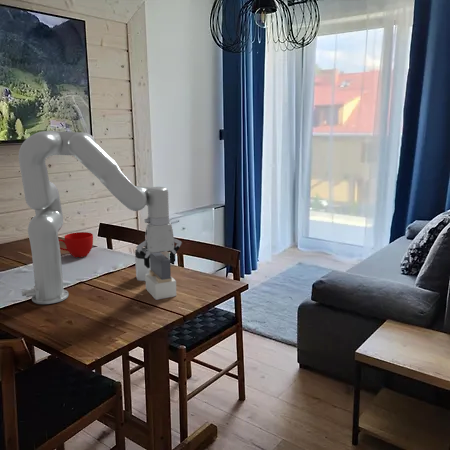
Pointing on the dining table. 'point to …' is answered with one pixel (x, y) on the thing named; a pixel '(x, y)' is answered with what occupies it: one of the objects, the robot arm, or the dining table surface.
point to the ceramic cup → (78, 243)
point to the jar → (141, 266)
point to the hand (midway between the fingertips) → (160, 265)
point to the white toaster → (160, 286)
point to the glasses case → (160, 265)
